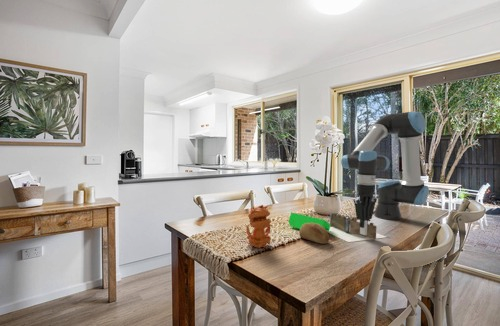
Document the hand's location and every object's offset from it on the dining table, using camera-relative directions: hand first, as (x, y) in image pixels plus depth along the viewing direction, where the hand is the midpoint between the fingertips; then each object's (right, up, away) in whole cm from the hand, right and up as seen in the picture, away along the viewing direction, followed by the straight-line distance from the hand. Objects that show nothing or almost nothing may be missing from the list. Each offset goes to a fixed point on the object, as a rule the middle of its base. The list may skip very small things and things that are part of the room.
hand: (363, 234), depth 119 cm
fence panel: (+1, -2, +3) cm, 4 cm away
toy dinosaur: (-49, -2, -11) cm, 50 cm away
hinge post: (-4, -2, +9) cm, 10 cm away
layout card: (-2, -2, +10) cm, 10 cm away
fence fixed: (-6, -2, +15) cm, 16 cm away
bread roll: (-24, -2, -3) cm, 24 cm away
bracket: (-22, -1, +14) cm, 26 cm away
